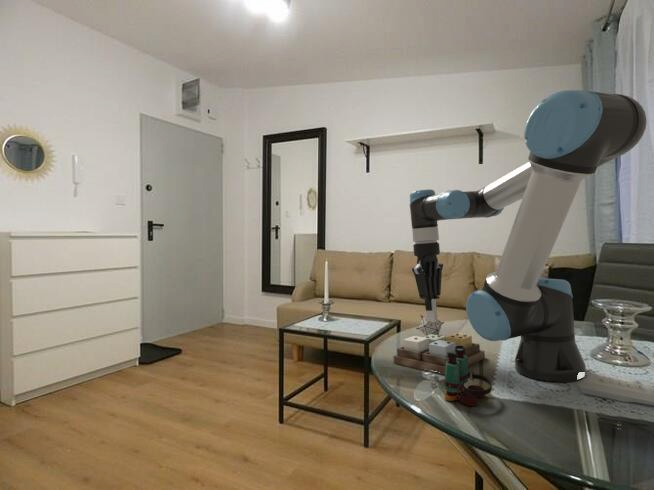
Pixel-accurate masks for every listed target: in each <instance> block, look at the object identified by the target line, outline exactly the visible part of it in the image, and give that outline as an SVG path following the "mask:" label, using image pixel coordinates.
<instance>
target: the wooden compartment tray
mask: <svg viewBox="0 0 654 490" xmlns="http://www.w3.org/2000/svg"><path fill="white" fill-rule="evenodd" d="M445 340H446V338H445ZM480 346H481V345H480V343H475V342H472V346H471V347H469V348H467V349H465V352H464V355H465V356H467V358H468V368H469V367H471V366H472V365H474V364H476V363H479V362H481V361H482V360H484V359H485V358H486V356H485V355H486V354H485V350H481V348H480ZM396 351H397V354H395V355H393V356H392V358H393V363H394V364H397V365H402V366H405V367H410V368H413V369H418V370H421V371H424V370H423V369H426V370H433V371H437V372H440V373H441V374H440V375H442V374H443V375H442V376H445V371H446V370H445V366H446V362H447V361H448V358H444V357H439V356H434V355H430V354H429V349H426V350H424V351H422V352H414V351H409V350H404V345H403V346H401V347H398V348H396ZM483 358H484V359H483ZM426 370H425V371H426Z"/></svg>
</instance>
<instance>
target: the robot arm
mask: <svg viewBox="0 0 654 490" xmlns="http://www.w3.org/2000/svg"><path fill="white" fill-rule="evenodd" d="M646 128H647V114H646V110H645V108H644V107H643V106H642V105H641V104H640V103H639V102H638V101H637V100H636V99H634V98H633V97H630V96H629V95H624V94H617V93H606V92H600V91H599V92H597V91H590V90H587V89H569V90H568V89H566V90H560V91H556V92H555V93H552V94H550V95H548V96H547V97H546V98H545V99H543V100H541V101H540V102H539V103H538V104H537V105H536V106H535V107H534V108H533V110H532V111H531V113H530V114H529V116H528V118H527V120H526V123H525V126H524V131H523V132H524V134H523V136H524V137H523V138H524V140H526V142H525V146H526V149H528V151H529V155H528V158H527V161H526V162H524V163H522V164H521V165H519V166H518V167H517V166H516V168H514V169H512V170H511V171H509V172H508V173H505V174H504V175H502V176H501V177H499V178H498V179H496V180H494V181H492V182H491V183H489V184H487V185H486V186H484V187H482V188H480V189H478V190H472V191H471V190H470V191H463V190H459V189H454V190H453V189H452V190H446V191H443V192H440V193H436V192H435V190H434V189H430V188H429V189H420V190H413V191H412V192H411V193H410V194H409V211H410V212H409V213H410V220H411V221H410V222H411V228H412V242H414V244H413V246H412V247H413V256H415V257H416V259H417V260H416V266H415V267H412V268H411V270H412V271H411V272H412V273H413V276H414V279H415V283H416V287H417V292H418V296H419V298H420V299H421V300H424V304H425V305H424V306H425V312H426V313H425V314H426V316H427V321H431V322H436V321H438V320H439V319H438V309H437V307H438V306H437V300H438V299H440V296H441V294H442V293H441V290H442V274H443V272H442V271H443V267H444V264H443V263H439V259H438V257H437V256H438V255H440V254H441V249H440V243H439V242H438V241H439V240H440V237H439V227H438V226H439V225H438V221H446V220H460V219H475V218H477V219H478V218H485V219H487V218H491V217H496V216H499V215H500V214H501V213H502V211H504V209H505V208H506V207H508V206H510V205H512V204H514V203H516V202H518V201H520V200H521V201H520V204H519V208H518V210H517V213H516V216H515V218H514V221H513V225H512V227H511V230H510V233H509V235H508V237H507V241H506V243H505V246H504V249H503V251H502V254H501V257H500V260H499V262H498V266H497V268H496V271H492V272H490V273H488V274H487V276H486V278H485V280H484V284H483V286H482V288H481V289H480V290H479V289H478V290H475V291H474V292H471V293H470V294H469V295H468V297H467V299H466V306H465V308H466V309H465V310H466V311H465V312H466V315H467V318H468V321H469V323H470V325H471V327H472V328H473V330H474V331H475V332H476V334H477V335H479V336H480V337H482V339H485V340H486V341H489V342H499V341H504V342H505V341H507V340H510V339H514V338H518V337H520V341H519V343H518V347H517V351H516V354H515V358H514V368H516V369H515V371H516V370H517V371H518V372H520V373H521V374H520V373H519V374H520V375H522V374H523V375H522V376H524V375H525V376H524V377H526V376H528V377H527V378H530V377H532V378H531V379H533V378H535V379H534V380H537V379H540V380H539V381H543V380H545V382H551V381H555V383H568V382H569V383H570V382H575V381H576V380H577V375H578V373H579V372H586V373H587V366H586V362H585V361H584V358H583V356H582V354H581V352H580V349H579V347H578V344H577V343H576V336H575V335H576V334H575V333H576V332H575V319H574V305H573V298H574V296H573V293H572V292H573V291H572V286H571V284H570V282H569V281H567V280H566V279H562V278H561V279H559V278H558V279H557V278H543V277H542V274H543V272H544V270H545V267H546V266H547V264H548V260H549V258H550V256H551V253H552V252H553V248H554V246H555V244H556V242H557V239H558V237H559V235H560V232H561V230H562V227H563V225H564V223H565V221H566V218H567V216H568V213H569V211H570V208H571V206H572V204H573V201H574V199H575V196H576V194H577V192H578V190H579V188H580V186H581V184H582V183H581V182H582V181H584V180H585V179H588V178H589V177H593V176H594V175H595V174H596V171H597V169H598V167H600V166H602V165H605V164H606V163H609V162H611V161H612V160H616V159H617V158H620V157H621V156H623V155H625V154H626V153H628V152H629V151H631V150H632V149H633V148H635V147H636V145H637V144H639V143H640V140H641V139H642V138H643V136H644V134H645V132H646ZM517 371H516V372H517ZM518 372H517V373H518ZM577 381H578V380H577Z"/></svg>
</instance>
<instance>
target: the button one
mask: <svg viewBox="0 0 654 490" xmlns="http://www.w3.org/2000/svg"><path fill="white" fill-rule="evenodd" d="M424 337H425V336H417V335H413V336H409V337H407V338H404V339H402V340H403V342H402V343H403V346H404V350H409V351H414V352H422V351H424V350H426V349H429V339H428V338H424Z"/></svg>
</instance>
